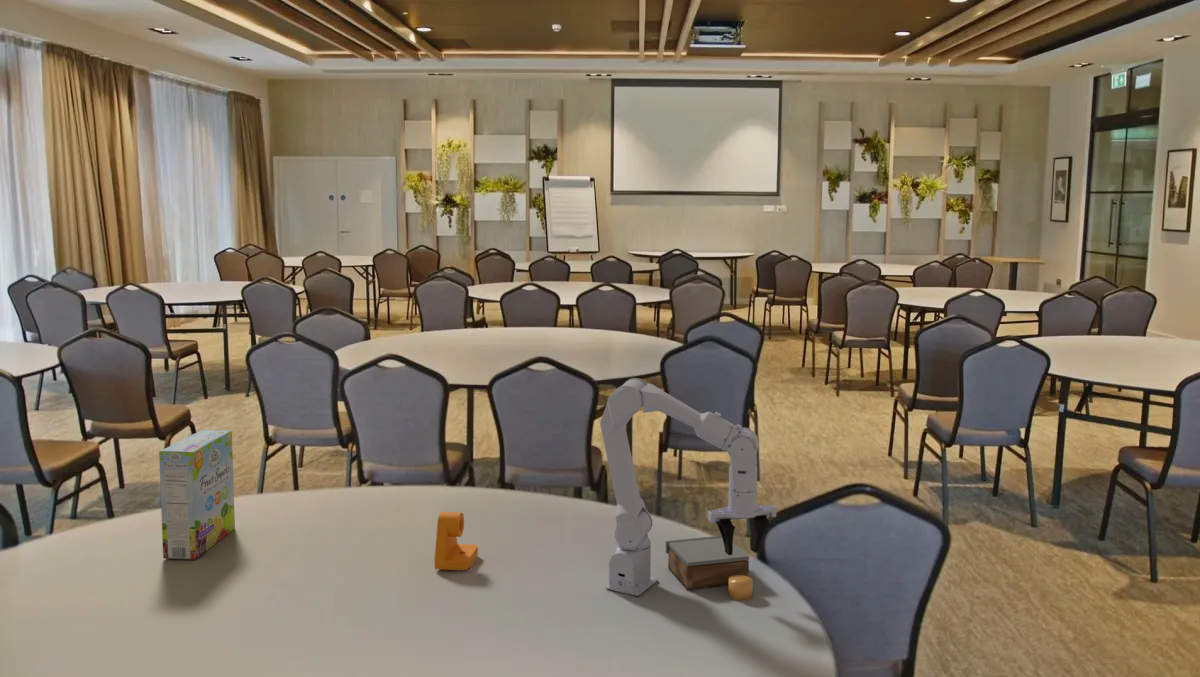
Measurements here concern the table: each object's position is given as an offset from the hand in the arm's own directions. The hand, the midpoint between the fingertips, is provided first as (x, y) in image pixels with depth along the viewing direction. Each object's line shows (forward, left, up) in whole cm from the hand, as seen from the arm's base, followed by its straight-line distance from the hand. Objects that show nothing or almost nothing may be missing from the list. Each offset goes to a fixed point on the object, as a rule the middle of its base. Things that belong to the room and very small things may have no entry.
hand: (741, 552), depth 189 cm
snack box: (-37, +123, -10) cm, 129 cm away
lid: (+6, +10, -6) cm, 14 cm away
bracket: (-16, +62, -10) cm, 65 cm away
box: (+6, +10, -9) cm, 15 cm away
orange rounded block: (0, 0, -10) cm, 10 cm away
